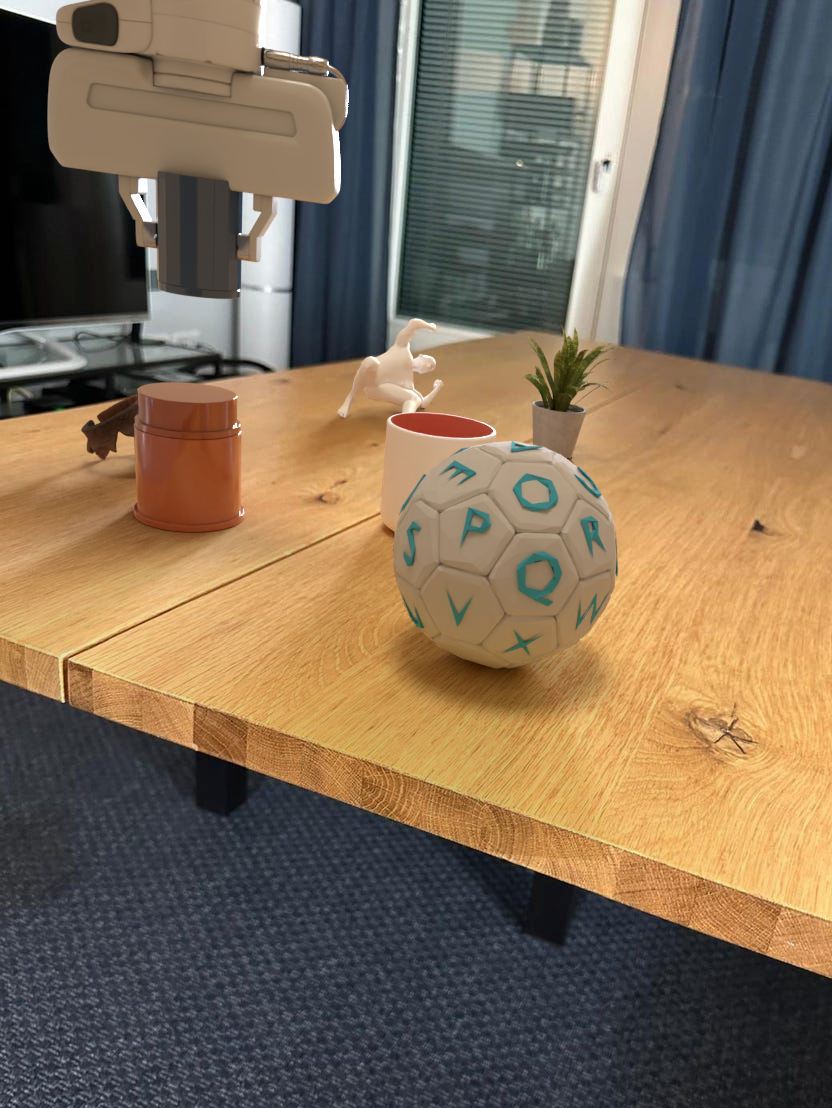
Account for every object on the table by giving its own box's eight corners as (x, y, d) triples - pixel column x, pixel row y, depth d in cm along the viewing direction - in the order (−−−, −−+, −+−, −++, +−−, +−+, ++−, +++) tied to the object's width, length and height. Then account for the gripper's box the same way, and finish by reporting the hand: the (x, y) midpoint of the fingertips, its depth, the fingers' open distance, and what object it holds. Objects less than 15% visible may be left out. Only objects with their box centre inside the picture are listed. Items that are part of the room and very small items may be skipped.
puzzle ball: (344, 663, 61) (358, 440, 55) (442, 594, 74) (463, 406, 68) (557, 732, 56) (600, 496, 50) (623, 646, 69) (664, 449, 63)
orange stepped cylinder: (118, 525, 79) (112, 396, 75) (151, 493, 88) (147, 376, 84) (231, 537, 80) (231, 409, 76) (253, 504, 89) (255, 388, 84)
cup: (461, 555, 83) (473, 445, 79) (360, 531, 85) (368, 423, 81) (497, 527, 91) (510, 426, 87) (405, 505, 94) (414, 407, 90)
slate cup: (147, 290, 68) (144, 169, 64) (171, 284, 73) (169, 172, 70) (229, 301, 68) (231, 181, 65) (247, 294, 74) (249, 183, 70)
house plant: (632, 473, 118) (657, 340, 111) (532, 471, 113) (553, 331, 106) (583, 444, 130) (603, 322, 123) (491, 440, 125) (507, 314, 118)
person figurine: (418, 347, 120) (434, 309, 135) (323, 356, 121) (349, 317, 136) (433, 442, 127) (446, 395, 142) (343, 449, 129) (366, 402, 144)
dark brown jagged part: (173, 490, 91) (124, 416, 87) (103, 513, 95) (53, 443, 91) (225, 436, 100) (183, 366, 96) (159, 459, 104) (116, 393, 100)
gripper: (355, 67, 67) (342, 270, 73) (68, 23, 66) (78, 233, 72) (344, 55, 62) (331, 275, 67) (30, 6, 60) (44, 236, 66)
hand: (198, 254), depth 70 cm, fingers closed on slate cup, 6 cm apart
